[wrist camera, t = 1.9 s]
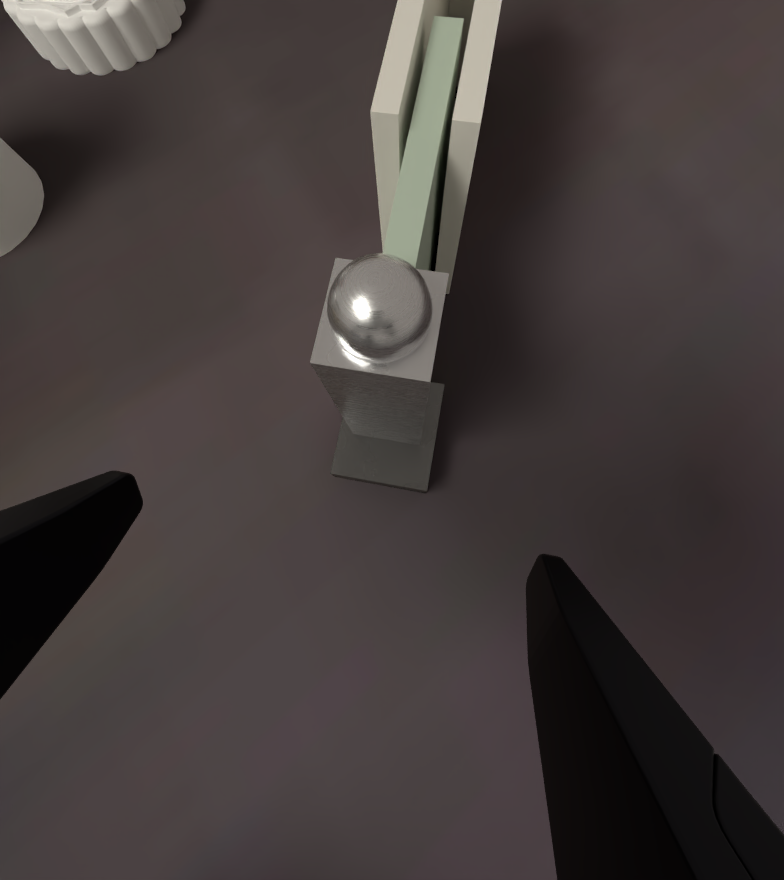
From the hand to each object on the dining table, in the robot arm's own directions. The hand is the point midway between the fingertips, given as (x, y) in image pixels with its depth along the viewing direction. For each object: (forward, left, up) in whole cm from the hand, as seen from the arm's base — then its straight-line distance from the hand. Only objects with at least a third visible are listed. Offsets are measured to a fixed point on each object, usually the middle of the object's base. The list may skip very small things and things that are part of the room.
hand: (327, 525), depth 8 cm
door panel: (+9, +11, -12) cm, 19 cm away
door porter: (+3, +4, -12) cm, 13 cm away
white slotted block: (+14, +17, -12) cm, 26 cm away
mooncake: (+1, +44, -13) cm, 45 cm away
